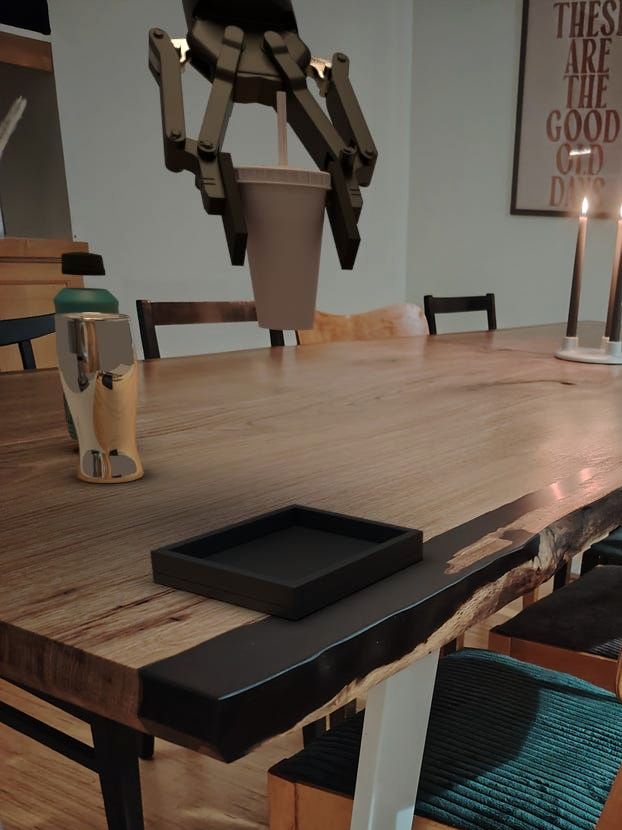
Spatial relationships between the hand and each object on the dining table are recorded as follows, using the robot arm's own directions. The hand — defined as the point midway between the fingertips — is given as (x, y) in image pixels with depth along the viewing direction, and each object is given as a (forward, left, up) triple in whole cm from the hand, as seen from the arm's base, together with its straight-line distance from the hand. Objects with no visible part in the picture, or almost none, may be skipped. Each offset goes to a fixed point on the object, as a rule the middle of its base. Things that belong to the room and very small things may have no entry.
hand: (296, 252), depth 59 cm
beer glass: (-5, +35, -22) cm, 42 cm away
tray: (0, +2, -22) cm, 22 cm away
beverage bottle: (-3, +47, -22) cm, 52 cm away
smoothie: (+1, +4, -5) cm, 6 cm away
